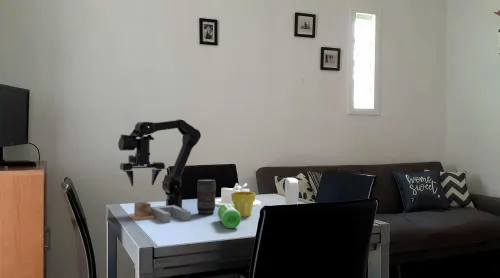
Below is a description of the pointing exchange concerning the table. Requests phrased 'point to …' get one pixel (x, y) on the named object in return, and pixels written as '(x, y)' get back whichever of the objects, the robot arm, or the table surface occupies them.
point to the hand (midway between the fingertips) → (142, 185)
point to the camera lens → (206, 197)
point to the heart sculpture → (291, 191)
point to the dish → (227, 195)
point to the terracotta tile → (140, 217)
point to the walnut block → (142, 209)
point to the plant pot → (243, 202)
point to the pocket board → (170, 213)
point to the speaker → (229, 215)
